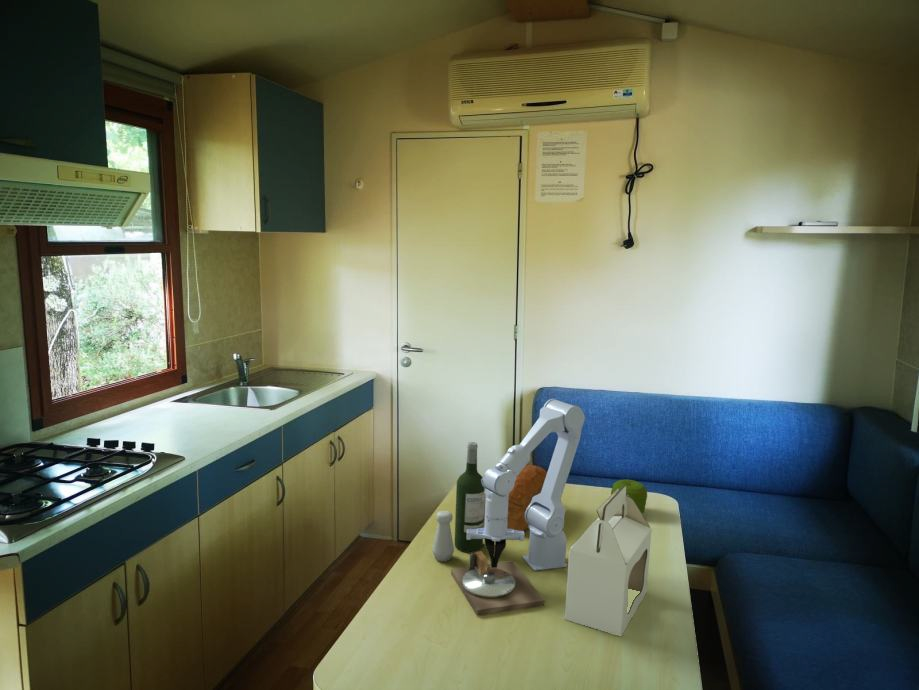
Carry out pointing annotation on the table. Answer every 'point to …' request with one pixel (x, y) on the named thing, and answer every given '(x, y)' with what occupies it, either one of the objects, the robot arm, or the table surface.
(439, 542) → the salt shaker
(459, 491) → the wine bottle
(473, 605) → the walnut board
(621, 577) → the gable box
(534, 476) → the bread
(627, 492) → the apple
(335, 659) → the table surface
